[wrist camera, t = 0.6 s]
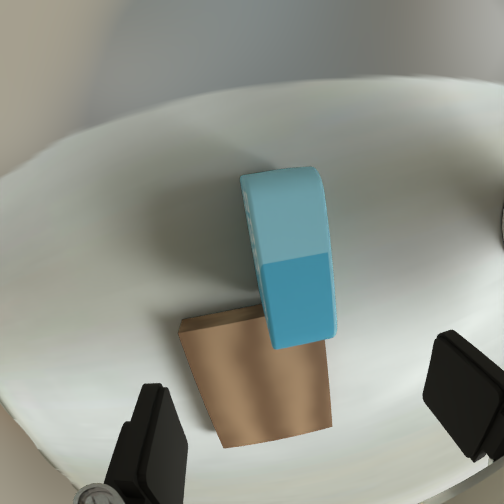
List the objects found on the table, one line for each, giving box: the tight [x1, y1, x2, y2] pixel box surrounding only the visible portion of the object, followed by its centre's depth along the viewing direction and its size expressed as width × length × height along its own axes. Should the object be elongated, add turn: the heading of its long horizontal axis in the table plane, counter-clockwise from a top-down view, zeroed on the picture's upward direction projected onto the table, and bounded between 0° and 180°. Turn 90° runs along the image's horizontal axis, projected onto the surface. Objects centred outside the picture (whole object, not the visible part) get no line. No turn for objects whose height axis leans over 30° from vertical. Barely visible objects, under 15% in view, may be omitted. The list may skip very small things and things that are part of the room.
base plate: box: [178, 304, 332, 448], centre depth 33 cm, size 14×18×3 cm
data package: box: [240, 167, 337, 350], centre depth 24 cm, size 12×4×12 cm, turn 10°
